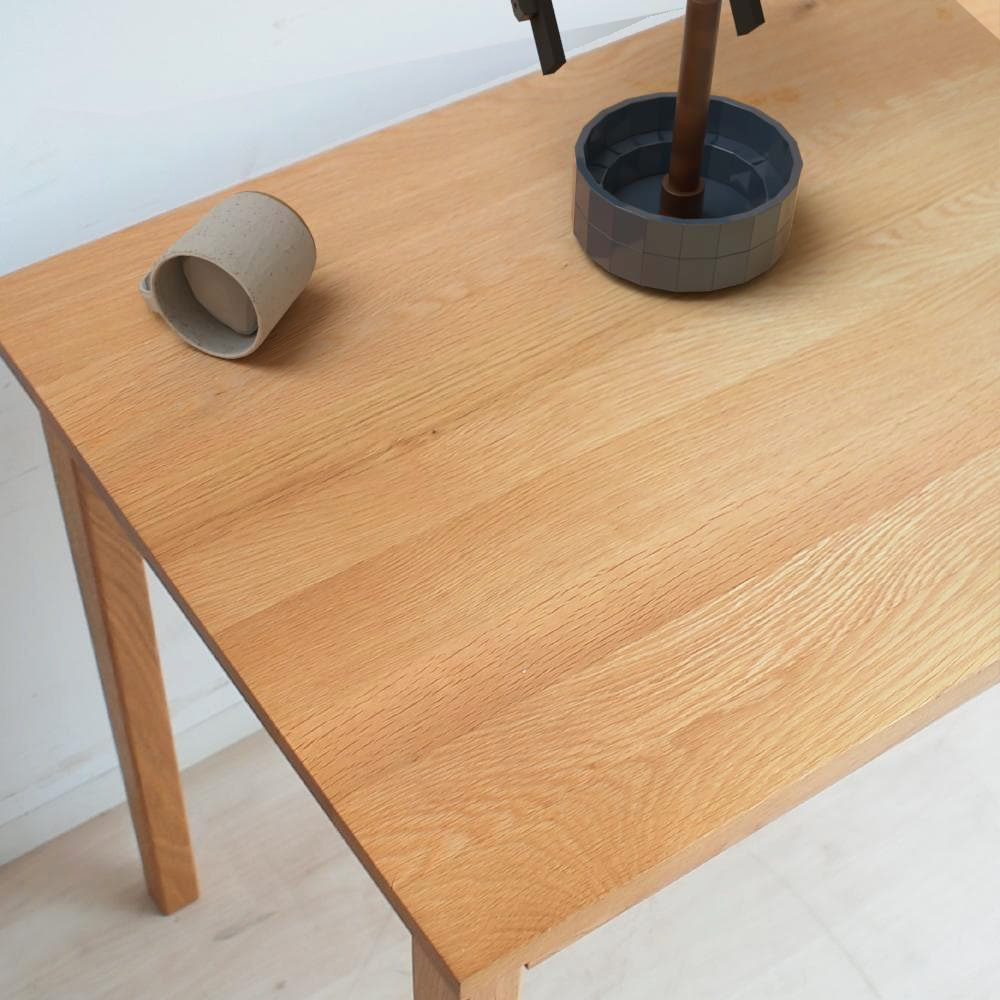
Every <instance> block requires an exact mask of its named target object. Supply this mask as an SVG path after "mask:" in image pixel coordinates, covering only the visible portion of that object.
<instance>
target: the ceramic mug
mask: <svg viewBox="0 0 1000 1000" xmlns="http://www.w3.org/2000/svg"><path fill="white" fill-rule="evenodd" d="M316 264H317V246H316V242H315V238H314V236H313V234H312V232H311V230H310V228H309V226H308V225H307V222H305V220H304V218H303V217H302V216H301V215H300V214H299V213H298V212H297V211H296V210H295V209H294V208H292V206H290V205H289V204H288V203H286V202H285V201H284V200H283V199H280V198H278V197H276V196H274V195H272V194H270V193H266V192H263V191H258V190H244V191H240V192H236V193H234V194H231V195H229V196H227V197H226V198H224V199H223V200H221V201H219V202H218V203H217V204H216V205H214V206H212V207H211V209H209V210H208V211H207V212H206V213H205V214H204V215H203V217H201V218H200V219H199V220H198V222H197V223H195V224H194V225H193V226H191V228H190V229H189V230H188V231H186V232H185V233H184V234H183V235H182V236H181V237H180V238H179V239H178V240H176V241H175V242H174V243H173V244H172V245H171V246H170V247H168V248H167V249H166V250H165V251H164V252H163V253H162V254H161V255H160V256H159V257H158V259H156V261H155V262H154V264H153V267H152V268H151V269H150V270H149V271H148V272H147V273H145V275H144V276H143V278H142V279H141V280H140V281H139V284H138V292H139V294H140V295H141V297H142V299H143V300H144V301H143V302H145V304H146V307H147V308H148V309H149V310H150V311H151V312H152V313H154V314H159V315H160V316H161V318H163V320H164V322H165V323H166V324H167V325H168V326H169V328H170V329H172V331H173V332H174V333H175V334H176V335H177V336H178V337H180V338H181V339H182V340H183V341H185V343H187V344H188V345H190V346H192V347H193V348H195V349H197V350H199V351H201V352H202V353H205V354H208V355H211V356H212V357H213V356H214V357H217V358H222V359H225V360H226V359H227V360H229V359H230V360H231V359H239V358H245V357H248V356H249V355H251V354H252V353H253V352H255V351H256V350H257V349H258V348H260V346H261V345H262V343H264V341H265V340H266V338H267V337H268V336H269V335H270V333H271V332H272V330H273V329H274V328H275V326H276V325H277V324H278V323H279V321H280V320H281V319H282V317H283V316H284V315H285V313H286V312H287V311H288V310H289V308H290V307H291V306H292V304H293V303H294V302H295V301H296V300H297V299H298V297H299V296H300V295H301V293H302V292H303V291H304V290H305V288H306V287H307V285H308V283H309V281H310V279H311V277H312V275H313V272H314V270H315V268H316Z"/></svg>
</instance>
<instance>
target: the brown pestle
mask: <svg viewBox="0 0 1000 1000" xmlns="http://www.w3.org/2000/svg"><path fill="white" fill-rule="evenodd" d="M722 3H723V0H686V4H685V13H684V23H683V24H684V25H683V34H682V43H681V52H680V61H679V62H680V64H679V73H678V82H677V91H676V92H677V100H676V109H675V119H674V129H673V138H672V148H671V157H670V167H669V173H668V174H666V175H665V176H664V177H663V179H662V183H661V193H660V203H659V213H658V215H663V216H669V217H674V218H680V219H701V216H702V208H703V201H704V193H705V181H704V179H703V178H702V177H701V176H700V174H701V166H702V158H703V150H704V142H705V134H706V126H707V118H708V110H709V101H710V94H711V93H712V84H713V76H714V69H715V68H714V67H715V61H716V52H717V43H718V35H719V29H720V22H721V21H720V19H721V12H722Z"/></svg>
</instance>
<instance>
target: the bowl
mask: <svg viewBox="0 0 1000 1000" xmlns="http://www.w3.org/2000/svg"><path fill="white" fill-rule="evenodd" d="M676 100H677V91H659V92H652V93H648V94H643V95H638V96H633V97H628V98H625V99H623V100H621V101H619V102H617V103H613V104H612V105H610V106H608V107H606V108H603V109H601V110H600V111H599V112H598V113H597V114H596V115H595V116H593V118H591V119H590V120H589V121H588V122H587V123H586V124H584V126H582V128H581V131H580V133H579V135H578V137H577V140H576V142H575V145H574V146H573V167H572V185H571V187H572V188H571V210H570V213H571V214H570V215H571V224H572V233H573V235H574V237H575V239H576V240H577V241H578V243H579V245H580V246H581V247H582V249H583V251H584V253H585V254H586V255H587V256H588V257H589V258H590V259H591V260H593V261H594V262H595V263H597V264H598V265H599V266H601V267H602V268H603V269H604V270H606V271H607V272H608V273H610V274H612V275H615V276H617V277H620V278H622V279H624V280H627V281H629V282H632V283H634V284H636V285H639V286H640V287H641V286H642V287H647V288H651V289H652V288H653V289H658V290H664V291H668V292H673V293H675V292H676V293H680V292H681V293H685V292H686V293H687V292H689V293H690V292H713V291H717V290H721V289H726V288H729V287H734V286H738V285H742V284H745V283H747V282H749V281H751V280H752V279H755V278H757V277H758V276H760V275H761V274H763V273H766V272H767V271H769V270H770V269H771V268H772V266H774V264H775V263H776V262H777V261H778V260H779V259H780V257H781V256H783V254H784V253H785V252H786V249H788V244H789V239H790V235H791V231H792V225H793V222H794V216H795V210H796V205H797V200H798V194H799V190H800V189H799V188H800V184H801V178H802V172H803V167H804V162H803V157H802V154H801V151H800V148H799V143H798V141H797V140H796V139H795V137H794V136H792V134H791V133H790V132H789V131H788V129H787V128H786V127H785V126H784V125H783V124H782V122H780V121H778V120H776V119H775V118H773V117H772V116H770V115H769V114H768V113H765V112H764V111H762V110H760V108H757V107H755V106H753V105H750V104H747V103H744V102H742V101H739V100H735V99H733V98H730V97H727V96H723V95H717V94H711V93H710V101H709V110H708V118H707V126H706V134H705V142H704V150H703V158H702V166H701V174H700V176H701V177H702V178H703V179H704V181H705V193H704V201H703V208H702V216H701V219H680V218H674V217H669V216H663V215H658V213H659V203H660V193H661V183H662V179H663V177H664V176H665V175H666V174H668V173H669V167H670V157H671V148H672V138H673V129H674V119H675V109H676Z"/></svg>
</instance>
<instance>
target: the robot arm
mask: <svg viewBox="0 0 1000 1000" xmlns="http://www.w3.org/2000/svg"><path fill="white" fill-rule="evenodd" d="M509 1H510V4H511V9H512V12H513V15H514V17H515V19H516V20H517V22H518V23H522V22H526V21H529V23H530V27H531V32H532V35H533V39H534V43H535V47H536V52H537V56H538V61H539V64H540V69H541V72H542V76H544V77H545V76H548V75H549V76H550V75H554V74H555V73H557V72H558V71H559V70H560V69H561V68H562V67H563V66H564V65H565V64H567V58H566V54H565V50H564V49H565V48H564V46H563V41H562V37H561V33H560V29H559V26H558V20H557V16H556V12H555V8H554V3H553V0H509ZM728 1H729V5H730V11H731V15H732V18H733V22H734V23H733V24H734V28H735V31H736V36H737V37H741V36H746V35H749V34H751V33H752V32H754V31H755V30H756V29H758V28H759V27H761V26H762V25H763V24H765V23H766V19H765V15H764V11H763V6H762V2H761V0H728Z"/></svg>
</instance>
